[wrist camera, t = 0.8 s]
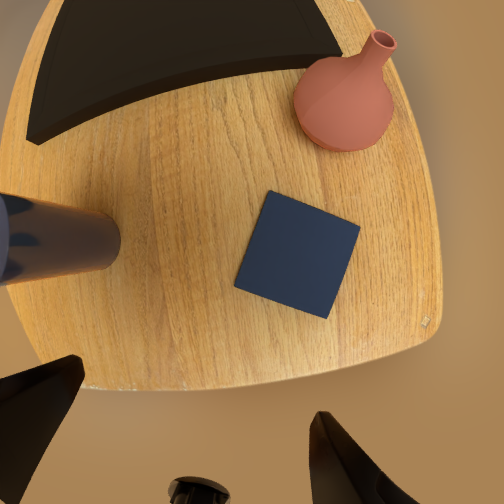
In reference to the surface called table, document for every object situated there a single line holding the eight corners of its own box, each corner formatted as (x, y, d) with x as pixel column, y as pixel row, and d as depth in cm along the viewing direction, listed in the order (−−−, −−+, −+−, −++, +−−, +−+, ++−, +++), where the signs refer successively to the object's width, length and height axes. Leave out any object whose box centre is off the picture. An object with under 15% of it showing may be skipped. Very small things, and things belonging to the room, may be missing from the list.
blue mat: (325, 317, 22) (327, 319, 21) (234, 285, 22) (233, 286, 21) (358, 227, 22) (360, 226, 21) (269, 191, 22) (269, 189, 21)
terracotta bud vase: (385, 137, 22) (461, 75, 10) (328, 180, 22) (396, 121, 10) (331, 77, 21) (371, -10, 9) (270, 112, 22) (281, 15, 10)
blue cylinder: (111, 279, 22) (1, 304, 9) (70, 258, 22) (-37, 265, 9) (128, 223, 22) (18, 203, 9) (85, 205, 22) (-22, 181, 9)
